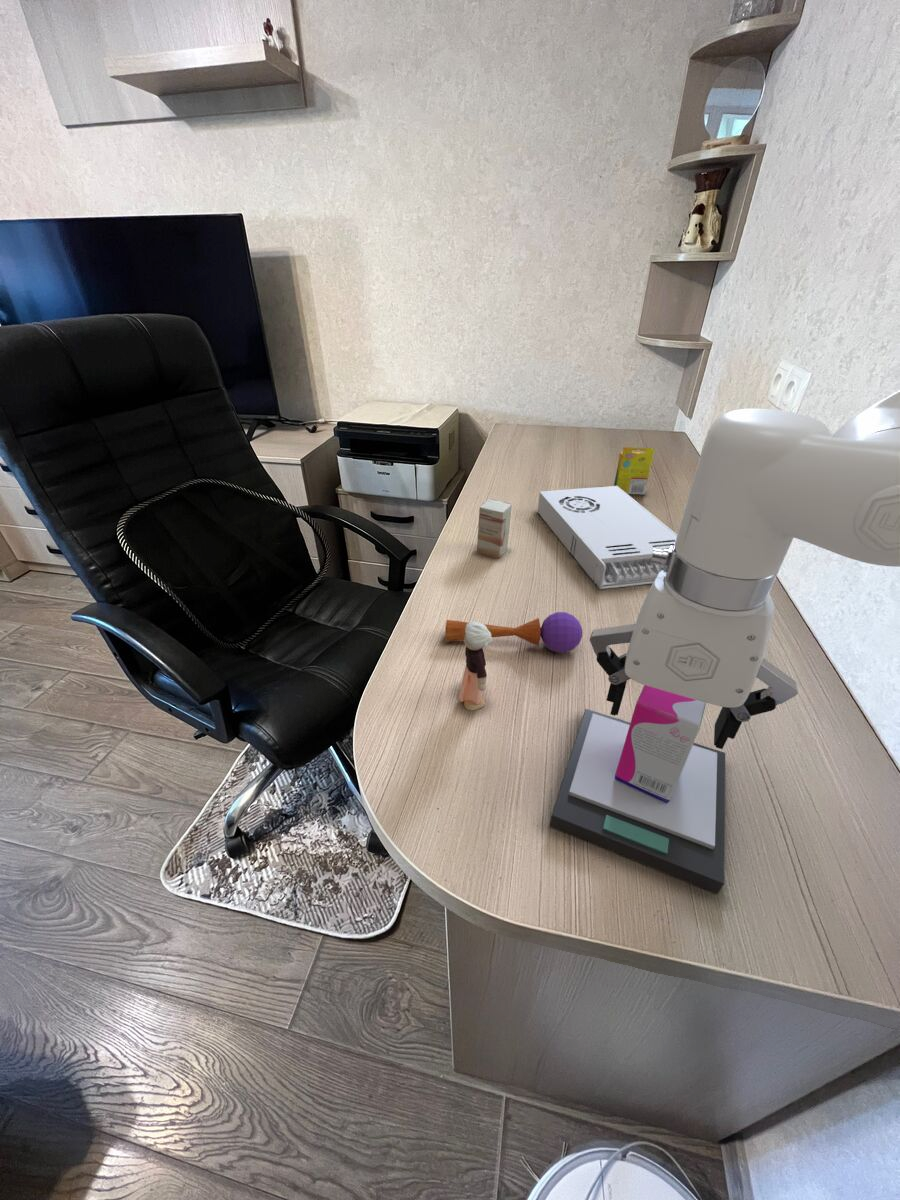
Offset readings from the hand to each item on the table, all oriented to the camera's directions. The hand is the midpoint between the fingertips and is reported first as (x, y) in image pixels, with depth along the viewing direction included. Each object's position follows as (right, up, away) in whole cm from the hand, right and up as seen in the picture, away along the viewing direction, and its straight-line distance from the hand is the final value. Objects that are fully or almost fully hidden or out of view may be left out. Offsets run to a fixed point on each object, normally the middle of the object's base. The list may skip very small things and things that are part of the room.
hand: (665, 721), depth 50 cm
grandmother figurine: (-18, -1, +17) cm, 25 cm away
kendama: (-12, +5, +26) cm, 29 cm away
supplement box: (0, -7, +5) cm, 8 cm away
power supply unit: (+11, +24, +54) cm, 60 cm away
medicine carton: (-13, +22, +50) cm, 56 cm away
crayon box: (+23, +39, +75) cm, 88 cm away
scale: (0, -9, +5) cm, 11 cm away
